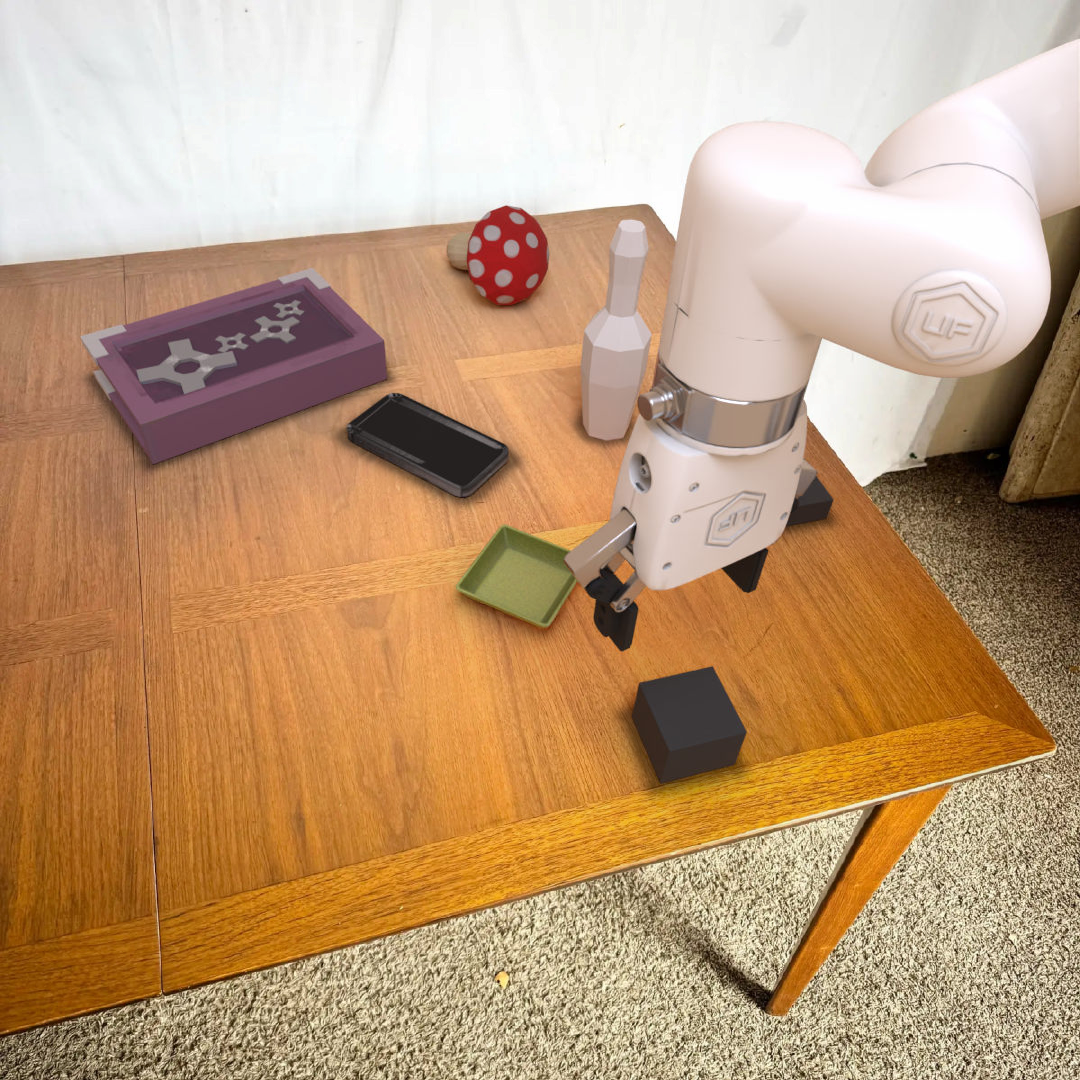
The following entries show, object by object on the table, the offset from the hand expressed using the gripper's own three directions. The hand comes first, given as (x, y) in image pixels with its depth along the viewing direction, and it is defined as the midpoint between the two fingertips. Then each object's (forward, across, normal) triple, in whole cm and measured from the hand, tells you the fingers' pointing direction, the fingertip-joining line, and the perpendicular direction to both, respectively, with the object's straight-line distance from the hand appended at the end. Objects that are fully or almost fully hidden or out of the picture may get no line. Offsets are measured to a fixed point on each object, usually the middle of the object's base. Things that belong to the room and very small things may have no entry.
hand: (675, 605), depth 61 cm
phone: (+16, 0, +38) cm, 41 cm away
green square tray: (+16, 0, +18) cm, 24 cm away
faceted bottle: (+16, +18, +33) cm, 41 cm away
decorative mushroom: (+16, +21, +61) cm, 67 cm away
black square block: (+16, +3, -1) cm, 16 cm away
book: (+16, -12, +56) cm, 60 cm away
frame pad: (+16, +25, +19) cm, 35 cm away
